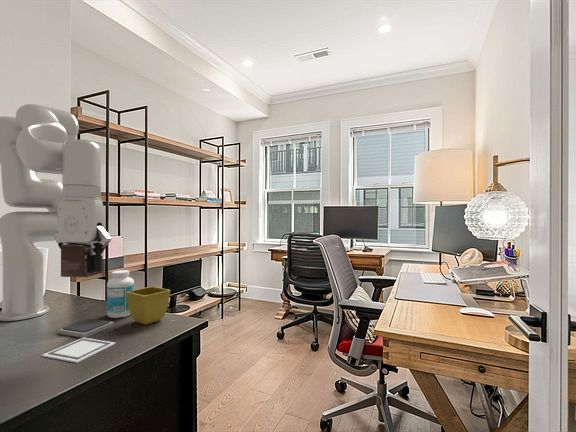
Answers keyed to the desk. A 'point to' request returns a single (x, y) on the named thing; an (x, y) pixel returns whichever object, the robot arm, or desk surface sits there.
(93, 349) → the frame card
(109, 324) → the ink pad
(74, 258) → the box
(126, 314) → the pill bottle
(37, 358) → the desk surface
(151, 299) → the flower pot
